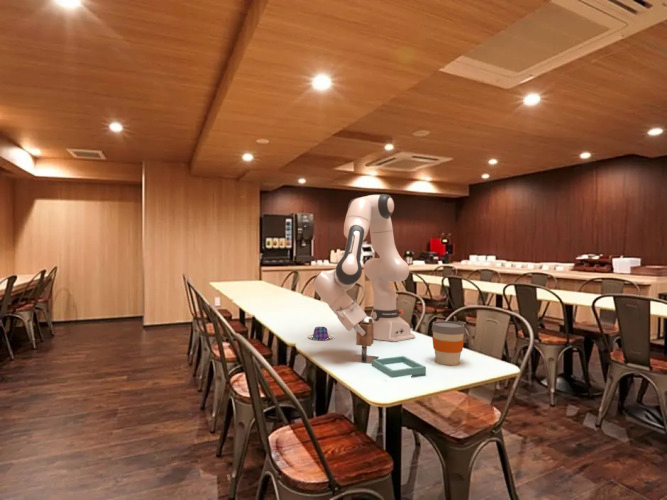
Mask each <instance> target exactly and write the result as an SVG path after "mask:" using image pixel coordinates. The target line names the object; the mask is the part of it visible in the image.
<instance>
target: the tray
mask: <svg viewBox="0 0 667 500" xmlns="http://www.w3.org/2000/svg"><path fill="white" fill-rule="evenodd" d="M401 363H404V364H405V365H408V366H409V367H408V368H407V367H406V368H399V369H392V368H391V367H388V366H386V365H392V364H401ZM371 366H372V367H374V368H375V369H377V370H379V371H380V372H382V373H383V374H386V375H387V376H388V377H390V378H397V377H406V376H410V375H411V376H410V378H417V377H424V376H426V375H427V367H426V366H425V365H423V364H421V363H419V362H417V361H415V360H412V359H411V358H408V357H406V356H404V355H401V356H394V357H391V356H390V357H385V358H383V357H382V358H378V359H374V360H372V364H371Z"/></svg>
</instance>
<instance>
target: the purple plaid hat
mask: <svg viewBox="0 0 667 500" xmlns="http://www.w3.org/2000/svg"><path fill="white" fill-rule="evenodd" d="M312 336H313V337H312ZM311 337H312V338H313V339H312V338H311ZM329 337H330V339H329ZM308 338H309V339H311V340H315V341H317V340H318V339H319V340H318V341H322V340H321V339H323V340H324V339H325V340H324V341H326V340H328V339H329V340H331V339H333V338H334V337H333V335H330V334H329V332H328V328H327V327H325V326H316V327H314V329H313V333H312V334H310V335H308ZM327 338H328V339H327Z"/></svg>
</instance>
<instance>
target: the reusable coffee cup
mask: <svg viewBox="0 0 667 500" xmlns="http://www.w3.org/2000/svg"><path fill="white" fill-rule="evenodd" d="M431 331H432V346H433V350H434V356H435V362H436V363H437V364H440V365H443V366H444V365H445V366H457V365H459V364H460V362H461V361H460V360H461V355H462V352H463V349H464V342H465V340H464V339H465V338H464V337H465V336H464V335H465V332H466V331H465V324H463V323H461V322H456V321H451V320H450V321H449V320H437V321H433V322H432V327H431Z"/></svg>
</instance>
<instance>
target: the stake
mask: <svg viewBox="0 0 667 500" xmlns="http://www.w3.org/2000/svg"><path fill="white" fill-rule="evenodd" d="M367 347H368V346H361V354H359V353H355V354H354V355H353V356H352V357H351V358H349V360H348V362H354V363H362V364H368V365H369V364H370V365H372V360H374V359H380V358H379V357H380V356H374V355H368V354H367V353H368V351H367V349H368V348H367Z"/></svg>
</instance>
